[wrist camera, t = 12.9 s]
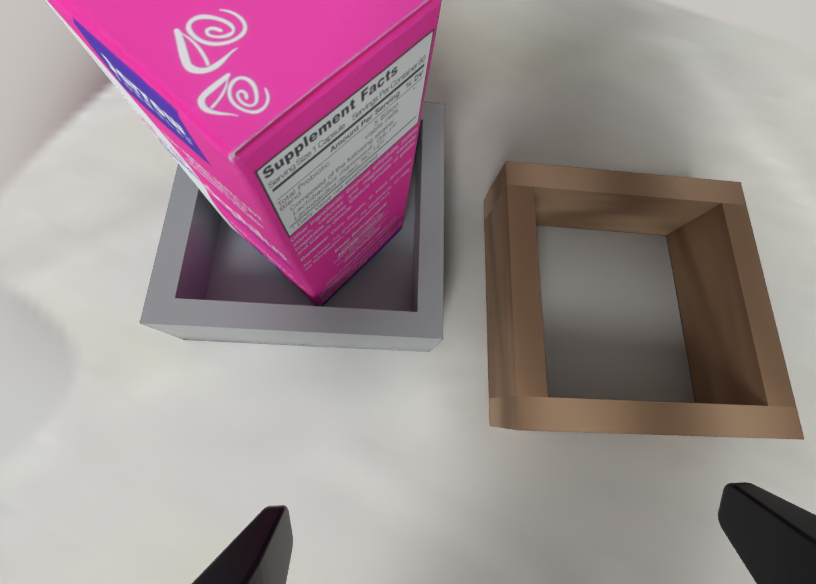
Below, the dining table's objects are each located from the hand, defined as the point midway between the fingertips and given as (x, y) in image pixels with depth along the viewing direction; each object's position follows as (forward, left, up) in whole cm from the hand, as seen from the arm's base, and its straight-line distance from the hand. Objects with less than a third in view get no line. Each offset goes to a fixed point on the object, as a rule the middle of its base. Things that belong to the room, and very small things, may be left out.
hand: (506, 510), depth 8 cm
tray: (-6, +10, -9) cm, 15 cm away
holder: (+8, +7, -9) cm, 14 cm away
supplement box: (-6, +10, -8) cm, 14 cm away
